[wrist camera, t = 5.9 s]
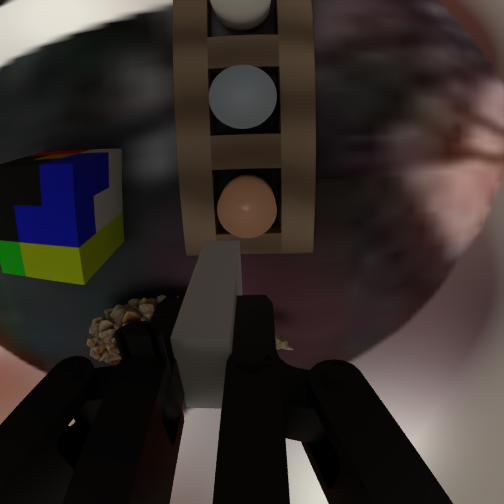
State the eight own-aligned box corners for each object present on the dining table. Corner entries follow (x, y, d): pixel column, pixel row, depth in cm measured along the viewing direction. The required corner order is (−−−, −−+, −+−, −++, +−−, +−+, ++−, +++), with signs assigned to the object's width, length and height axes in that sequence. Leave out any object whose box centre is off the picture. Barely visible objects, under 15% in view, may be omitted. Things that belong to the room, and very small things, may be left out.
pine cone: (121, 347, 39) (95, 400, 30) (97, 284, 36) (59, 332, 26) (290, 338, 38) (299, 399, 29) (285, 266, 34) (296, 321, 25)
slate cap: (215, 75, 25) (207, 66, 20) (272, 73, 25) (275, 64, 20) (217, 128, 27) (209, 130, 22) (273, 126, 27) (277, 128, 22)
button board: (180, -20, 23) (174, -32, 20) (303, -25, 22) (308, -37, 20) (191, 243, 34) (186, 255, 31) (308, 241, 33) (312, 252, 31)
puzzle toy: (122, 148, 30) (72, 163, 20) (124, 241, 34) (84, 284, 24) (45, 151, 29) (-14, 168, 20) (51, 235, 33) (2, 272, 24)
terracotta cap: (221, 172, 30) (215, 182, 25) (273, 170, 30) (276, 180, 25) (224, 220, 32) (219, 239, 27) (273, 219, 32) (276, 237, 27)
